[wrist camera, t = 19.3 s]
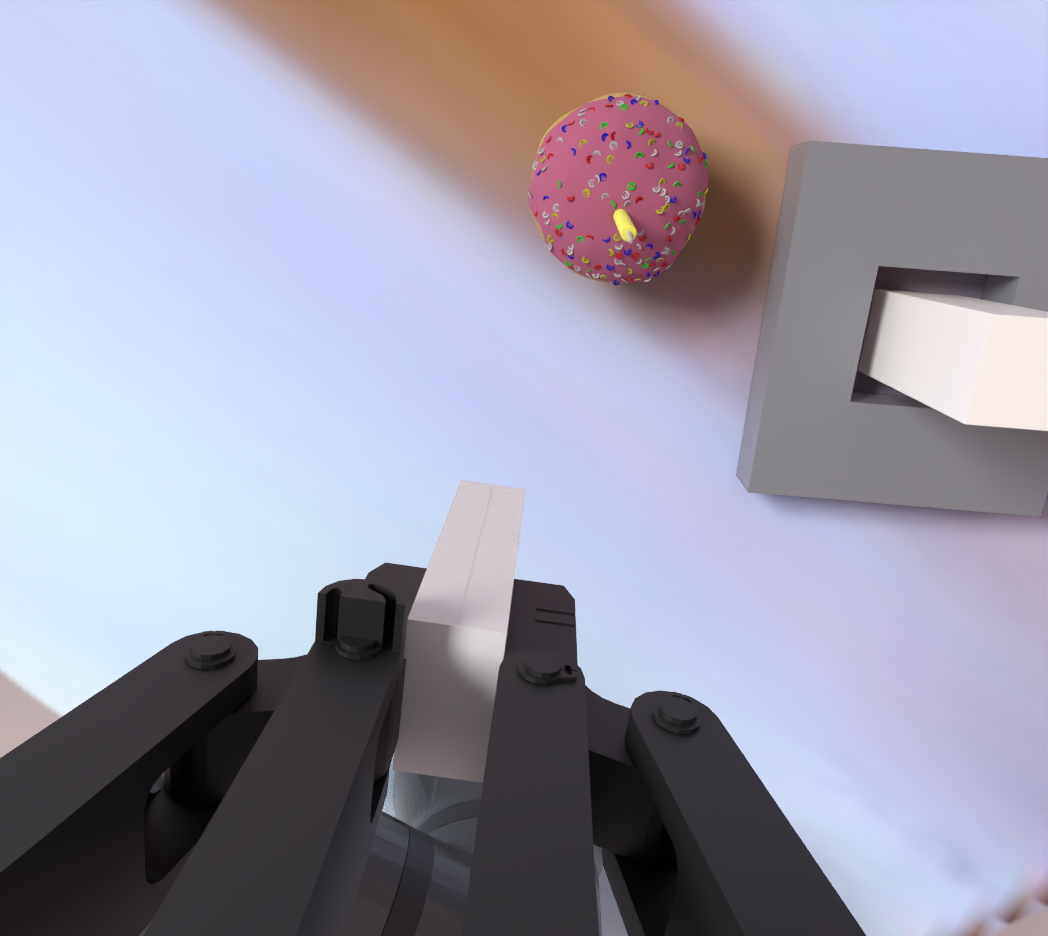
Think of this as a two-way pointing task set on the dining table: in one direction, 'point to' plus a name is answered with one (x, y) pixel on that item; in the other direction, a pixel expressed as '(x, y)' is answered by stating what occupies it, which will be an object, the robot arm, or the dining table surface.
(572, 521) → the dining table surface
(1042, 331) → the plug
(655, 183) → the cupcake
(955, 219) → the socket
